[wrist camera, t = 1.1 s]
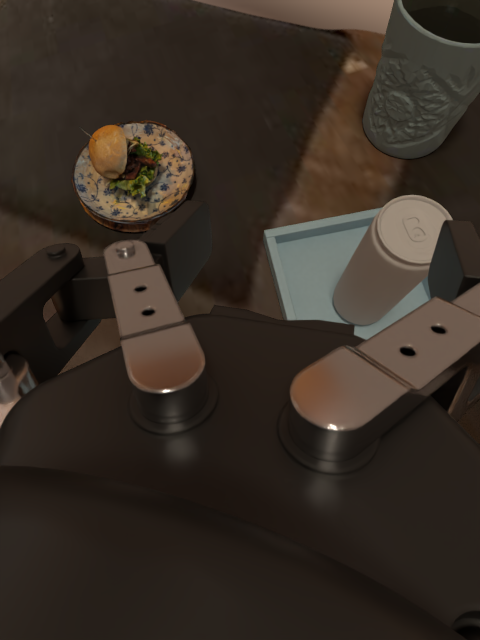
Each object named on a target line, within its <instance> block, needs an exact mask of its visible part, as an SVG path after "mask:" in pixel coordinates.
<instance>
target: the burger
mask: <svg viewBox="0 0 480 640" xmlns="http://www.w3.org/2000/svg"><path fill="white" fill-rule="evenodd" d="M80 128H81V127H80ZM81 129H82V128H81ZM82 130H83V129H82ZM83 131H84V130H83ZM84 132H85V131H84ZM85 133H86V134H87V135H88V136H90V135H89V134H88V133H87V132H85ZM90 137H91V136H90ZM193 177H194V162H193V156H192V152H191V149H190V147H189V146H188V145H187V144H186V143H185V142H184V141H183V140H182V139H181V138H180V137H179V136H178V135H177V134H176V132H175V131H174V130H171V129H169V128H168V127H166V125H163V124H161V123H158V122H154V121H148V120H145V121H141V122H134V121H129V122H127V123H122V122H121V123H117V124H115V125H108V126H104V127H102V128H100V129H99V130H97V131H96V132H95V133H94V134H93V135H92V137H91V139H90V140H89V142H87V143H86V144H85V145H84V147H82V149H81V150H80V152H79V154H78V156H77V159H76V161H75V164H74V166H73V173H72V180H71V182H72V184H73V187H74V191H75V193H76V195H77V196H78V198H79V200H80V202H81V204H82V206H83V208H84V209H85V211H86V212H87V213H88V214H89V215H90V216H91V217H92V218H93V219H94V220H96V221H97V222H98V223H100V224H101V225H104V226H106V227H108V228H111V229H114V230H118V231H123V232H141V231H148V230H150V228H151V227H152V226H153V225H155V223H156V222H157V221H158V220H160V219H161V218H162V217H164V216H166V215H168V214H169V213H171V212H172V211H173V210H174V209H175V208H177V207H178V206H179V205H180V204H181V203H182V202H183V201H184V200H185V198H186V195H187V192H188V190H189V187H190V186H191V184H192V182H193Z"/></svg>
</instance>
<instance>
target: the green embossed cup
mask: <svg viewBox="0 0 480 640" xmlns="http://www.w3.org/2000/svg"><path fill="white" fill-rule="evenodd" d="M479 92H480V0H394V3H393V8H392V12H391V16H390V19H389V23H388V27H387V31H386V35H385V39H384V42H383V45H382V58H381V59H380V61H379V64H378V66H377V71H376V77H375V80H374V84H373V87H372V89H371V91H370V93H369V96H368V100H367V104H366V107H365V111H364V116H363V120H362V121H363V128H364V131H365V133H366V135H367V137H368V139H369V140H370V141H371V142H372V144H373V145H375V147H376V148H377V149H378V150H380V151H382V152H383V153H385V154H388V155H390V156H393V157H397V158H403V159H413V158H419V157H423V156H425V155H428V154H430V153H431V152H433V151H434V150H436V149H437V148H438V147H439V146H440V145H441V144H442V143H443V141H444V140H445V139H446V137H447V136H448V134H449V133H450V131H451V130H452V128H453V127H454V126H455V124H456V123H457V122H458V121H459V119H460V118H461V117H462V115H463V114H464V113H465V111H466V110H467V107H468V105H469V104H470V103H471V102H472V101H473V100H474V99H475V98H476V96H477V95H478V94H479Z"/></svg>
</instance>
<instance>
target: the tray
mask: <svg viewBox="0 0 480 640" xmlns="http://www.w3.org/2000/svg"><path fill="white" fill-rule="evenodd" d="M381 209H382V208H378V209H373V210H368V211H362V212H357V213H352V214H347V215H342V216H336V217H331V218H326V219H321V220H316V221H310V222H305V223H300V224H295V225H290V226H285V227H279V228H274V229H269V230H264V238H263V242H264V245H265V249H266V253H267V257H268V261H269V265H270V269H271V273H272V276H273V280H274V284H275V288H276V292H277V296H278V300H279V304H280V307H281V311H282V315H283V319H284V320H324V321H331V322H338V323H345V324H352V325H355V328H354V335H356V336H359V337H361V338H364V339H366V340H367V339H369V338H370V337H372V336H373V335H375V334H377V333H378V332H380V331H381V330H383V329H384V328H386V327H388V326H389V325H391V324H392V323H394V322H396V321H397V320H399V319H400V318H402V317H403V316H405V315H407V314H408V313H410V312H411V311H413V310H414V309H416V308H418V307H419V306H421V305H422V304H424V303H426V302H427V301H429V300H430V299H431V297H430V292H429V286H428V276H427V277H426V278H425V279H424V280H423V281H421V282H420V283H419V284H418V285H417V286H416V287H415V288H414V289H413V290H412V291H411V292H410V293H408V294H407V295H406V296H405V297H404V298H403V299H402V300H401V301H400V302H399V303H398V304H396V305H395V306H394V307H393V308H392V309H391V310H390V311H389V312H388V313H387V314H386V315H385V316H383V317H382V318H381V319H380V320H378V321H377V322H375V323H372V324H368V325H358V324H354V323H351V322H349V321H347V320H346V319H344V318H343V317H342V316H341V315H340V314H339V313H338V312H337V310H336V308H335V306H334V300H333V296H334V290H335V288H336V285H337V283H338V282H339V280H340V278H341V276H342V274H343V272H344V270H345V269H346V267H347V265H348V263H349V261H350V259H351V257H352V256H353V254H354V252H355V250H356V249H357V247H358V245H359V243H360V242H361V240H362V238H363V236H364V235H365V233H366V231H367V229H368V227H369V226H370V224H371V222H372V220H373V219H374V217H375V216H376V215H377V213H378V212H379V211H380V210H381Z"/></svg>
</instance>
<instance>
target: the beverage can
mask: <svg viewBox="0 0 480 640" xmlns="http://www.w3.org/2000/svg"><path fill="white" fill-rule="evenodd" d="M445 220H453V219H452V217H451V216H450V214H449V213H448V211H447V210H445V209H444V208H443V207H442V206H441V205H440V204H438V203H437V202H435V201H433V200H432V199H429V198H426V197H423V196H417V195H407V196H401V197H398V198H395V199H393V200H391V201H390V202H389V203H387V204H386V205H385V206H384V207H383V208H382V209H381V210H380V211H379V212H378V213H377V215H376V216H375V217H374V219H373V220H372V222H371V224H370V226H369V227H368V229H367V231H366V233H365V235H364V236H363V238H362V240H361V242H360V243H359V245H358V247H357V249H356V250H355V252H354V254H353V256H352V257H351V259H350V261H349V263H348V265H347V267H346V269H345V270H344V272H343V274H342V276H341V278H340V280H339V282H338V283H337V285H336V288H335V290H334V296H333V300H334V306H335V308H336V310H337V312H338V313H339V314H340V315H341V316H342V317H343V318H344V319H346V320H347V321H349V322H351V323H354V324H358V325H368V324H372V323H375V322H377V321H378V320H380V319H381V318H382V317H383V316H385V315H386V314H387V313H388V312H389V311H390V310H391V309H392V308H393V307H394V306H395V305H396V304H398V303H399V302H400V301H401V300H402V299H403V298H404V297H405V296H406V295H407V294H408V293H410V292H411V291H412V290H413V289H414V288H415V287H416V286H417V285H418V284H419V283H420V282H421V281H423V280H424V279H425V278H426V277H427V276H428V272H429V267H430V263H431V260H432V256H433V253H434V250H435V246H436V243H437V240H438V236H439V233H440V230H441V227H442V224H443V222H444V221H445Z"/></svg>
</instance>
